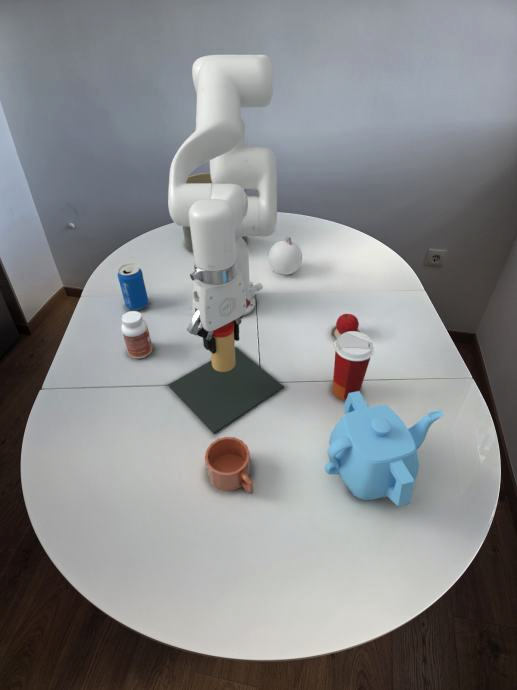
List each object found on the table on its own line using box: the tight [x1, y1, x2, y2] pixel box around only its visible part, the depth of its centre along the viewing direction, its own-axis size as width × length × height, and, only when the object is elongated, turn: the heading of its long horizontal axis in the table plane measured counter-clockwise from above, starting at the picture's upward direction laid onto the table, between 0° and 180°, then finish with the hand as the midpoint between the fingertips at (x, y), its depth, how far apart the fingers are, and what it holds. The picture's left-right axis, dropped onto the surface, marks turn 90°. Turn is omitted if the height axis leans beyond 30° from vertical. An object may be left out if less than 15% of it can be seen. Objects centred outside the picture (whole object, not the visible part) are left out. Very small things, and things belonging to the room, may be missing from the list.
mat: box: [167, 346, 285, 435], centre depth 100 cm, size 20×18×1 cm
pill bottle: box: [120, 310, 153, 359], centre depth 105 cm, size 6×6×11 cm
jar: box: [210, 321, 236, 372], centre depth 91 cm, size 5×5×11 cm
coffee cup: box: [332, 331, 375, 401], centre depth 94 cm, size 8×8×15 cm
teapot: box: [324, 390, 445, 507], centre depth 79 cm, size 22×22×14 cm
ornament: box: [267, 236, 303, 276], centre depth 132 cm, size 10×10×12 cm
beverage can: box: [117, 263, 149, 311], centre depth 120 cm, size 6×6×12 cm
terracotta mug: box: [204, 436, 254, 495], centre depth 81 cm, size 11×8×6 cm
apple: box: [329, 313, 362, 341], centre depth 111 cm, size 8×8×6 cm
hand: (222, 342), depth 91 cm, fingers closed on jar, 5 cm apart
